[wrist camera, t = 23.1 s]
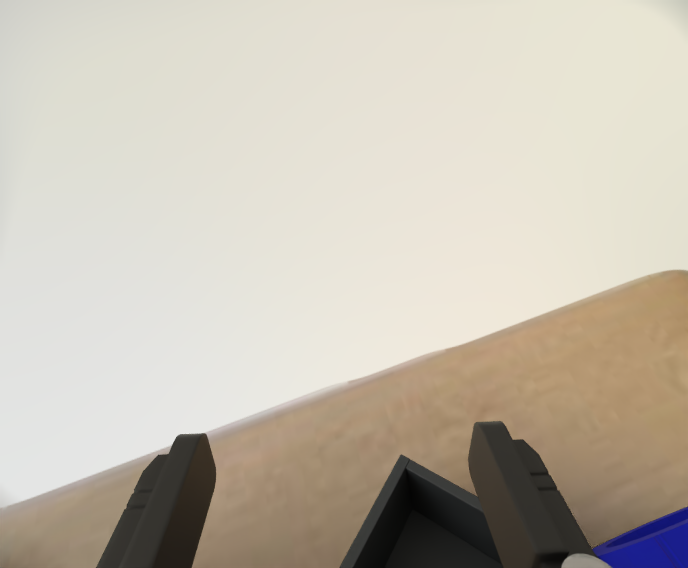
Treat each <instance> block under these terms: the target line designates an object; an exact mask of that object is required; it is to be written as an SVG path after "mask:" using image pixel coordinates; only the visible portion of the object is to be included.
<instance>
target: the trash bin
mask: <svg viewBox="0 0 688 568" xmlns="http://www.w3.org/2000/svg"><path fill="white" fill-rule="evenodd" d="M339 568H503V565H502V562H501V560H500V557H499V554H498V551H497V548H496V546H495V543H494V540H493V537H492V534H491V532H490V529H489V526H488V523H487V520H486V518H485V515H484V512H483V509H482V506H481V504H480V501H479V498H478V497H477V496H475V495H473V494H471V493H470V492H468V491H466V490H464V489H462V488H461V487H459V486H457V485H455V484H453V483H452V482H450V481H448V480H446V479H444V478H443V477H441V476H439V475H437V474H435V473H434V472H432V471H430V470H428V469H426V468H425V467H423V466H421V465H419V464H417V463H416V462H414V461H412V460H410V459H409V458H407V457H405V456H403V455H400V457H399V459H398V461H397V462H396V464H395V466H394V468H393V470H392V472H391V474H390V475H389V477H388V479H387V481H386V483H385V485H384V486H383V488H382V490H381V492H380V494H379V496H378V497H377V499H376V501H375V503H374V505H373V507H372V509H371V510H370V512H369V514H368V516H367V518H366V520H365V521H364V523H363V525H362V527H361V529H360V531H359V532H358V534H357V536H356V538H355V540H354V542H353V544H352V545H351V547H350V549H349V551H348V553H347V555H346V556H345V558H344V560H343V562H342V564H341V566H340V567H339Z"/></svg>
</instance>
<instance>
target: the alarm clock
mask: <svg viewBox="0 0 688 568" xmlns="http://www.w3.org/2000/svg"><path fill="white" fill-rule="evenodd" d="M592 550H593V551H594V553H595V554H596V555H597V557H598V558H599V559H600V560H602V561H604V562H605V563H607V564H608V565H609V566H611V567H612V568H688V507H686V508H683V509H681V510H678V511H675V512H673V513H670V514H668V515H665V516H663V517H661V518H658V519H656V520H654V521H651V522H649V523H646V524H644V525H642V526H639V527H637V528H635V529H633V530H630V531H628V532H626V533H624V534H622V535H619V536H617V537H615V538H613V539H611V540H609V541H607V542H605V543H603V544H601V545H599V546H597V547H595V548H593V549H592Z"/></svg>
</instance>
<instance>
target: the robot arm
mask: <svg viewBox="0 0 688 568" xmlns="http://www.w3.org/2000/svg"><path fill="white" fill-rule="evenodd" d="M468 462H469V470H470V475H471V478H472V481H473V484H474V487H475V490H476V492H477V495H478V498H479V501H480V504H481V506H482V509H483V512H484V515H485V518H486V520H487V523H488V526H489V529H490V532H491V534H492V537H493V540H494V543H495V546H496V548H497V551H498V554H499V557H500V560H501V562H502V565H503V568H612V567H611V566H609V565H608V564H607V563H605V562H604V561H602V560H600V559H599V558H598V557H597V555H596V554H595V553H594V551H593V550H592V548H591V547H590V545H589V543H588V542H587V540H586V538H585V536H584V534H583V533H582V531H581V529H580V527H579V525H578V524H577V522H576V520H575V518H574V517H573V515H572V513H571V511H570V509H569V508H568V506H567V504H566V502H565V501H564V499H563V497H562V495H561V493H560V492H559V490H557V486H556V485H555V483H554V481H553V479H552V477H551V476H549V474H548V470H547V469H546V467H545V465H544V463H543V461H542V460H541V458H540V456H539V454H538V453H537V452H536V451H535V450H533V449H532V448H531V447H530V446H529V445H528V444H527V443H526V442H525V441H524V440H523V439H522V440H512V438H511V436H510V434H509V432H508V430H507V428H506V426H505V425H504V423H503V422H501V421H493V422H476V423H475V424H474V428H473V434H472V439H471V445H470V450H469V457H468ZM215 482H216V467H215V463H214V459H213V456H212V452H211V448H210V445H209V441H208V438H207V435H206V434H205V433H202V434H180V435H178V436H177V437H176V439H175V441H174V443H173V445H172V447H171V450H170V452H169V454H167V455H158V456H157V457H156V458H155V459H154V460H153V461H152V462H151V463H150V464H149V466H148V467H147V468H146V469H145V470H144V471H143V473H142V475H141V477H140V479H139V481H138V483H137V485H136V487H135V489H134V494H132V495H131V497H130V499H129V501H128V504H127V508H126V509H125V510H124V512H123V514H122V516H121V518H120V520H119V522H118V524H117V526H116V528H115V530H114V532H113V534H112V536H111V538H110V541H109V543H108V545H107V547H106V549H105V551H104V553H103V555H102V557H101V559H100V561H99V563H98V565H97V567H96V568H192V564H193V561H194V557H195V554H196V550H197V547H198V544H199V540H200V537H201V533H202V530H203V526H204V523H205V519H206V516H207V512H208V509H209V506H210V502H211V499H212V495H213V492H214V488H215Z"/></svg>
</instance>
